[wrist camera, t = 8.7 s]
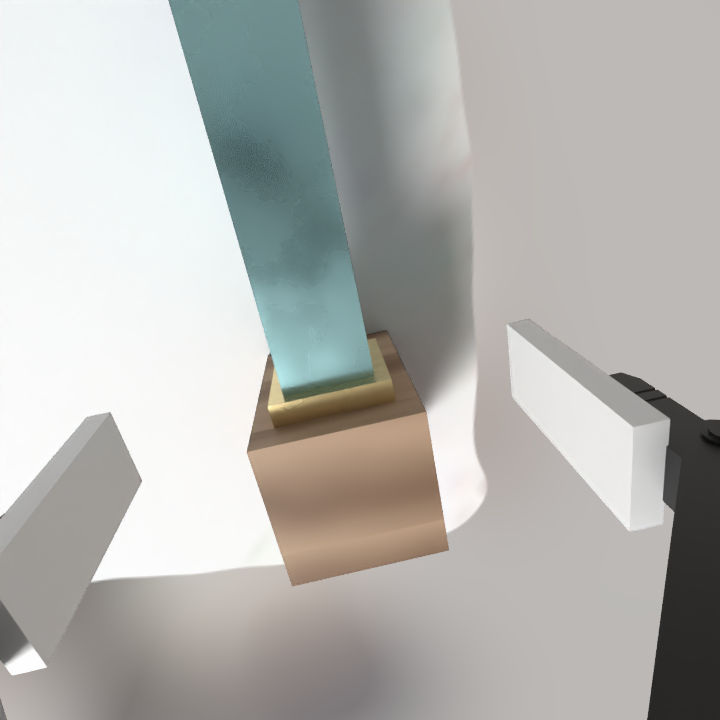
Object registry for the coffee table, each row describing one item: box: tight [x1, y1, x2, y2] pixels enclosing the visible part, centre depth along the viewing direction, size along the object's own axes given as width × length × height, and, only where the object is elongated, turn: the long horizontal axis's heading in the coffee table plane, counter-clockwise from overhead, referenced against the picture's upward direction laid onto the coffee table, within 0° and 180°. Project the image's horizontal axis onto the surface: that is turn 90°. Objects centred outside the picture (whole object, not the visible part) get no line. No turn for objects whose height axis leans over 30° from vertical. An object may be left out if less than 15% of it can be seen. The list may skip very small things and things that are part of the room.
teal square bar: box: [169, 0, 396, 428], centre depth 22 cm, size 28×6×6 cm, turn 11°
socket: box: [247, 331, 449, 586], centre depth 28 cm, size 8×8×12 cm
